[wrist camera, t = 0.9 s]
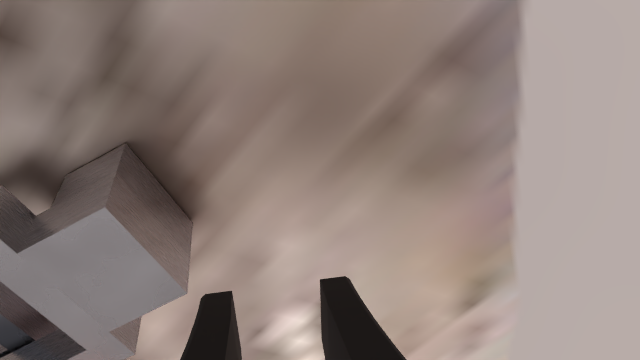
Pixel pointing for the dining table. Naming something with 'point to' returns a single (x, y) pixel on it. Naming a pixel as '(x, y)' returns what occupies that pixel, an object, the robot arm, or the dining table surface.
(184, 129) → the dining table surface
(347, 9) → the dining table surface
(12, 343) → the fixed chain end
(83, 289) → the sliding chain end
